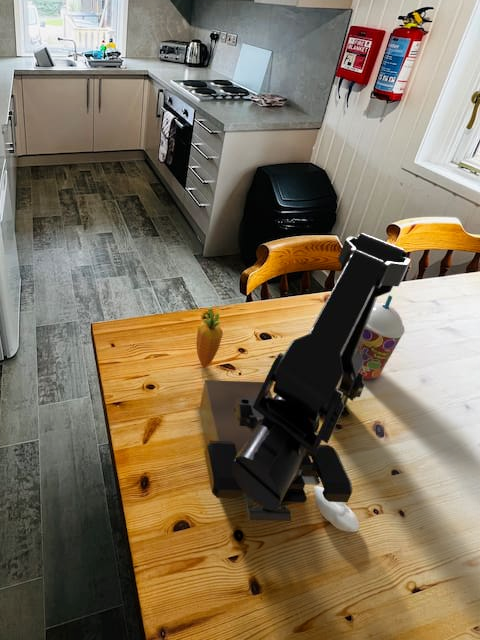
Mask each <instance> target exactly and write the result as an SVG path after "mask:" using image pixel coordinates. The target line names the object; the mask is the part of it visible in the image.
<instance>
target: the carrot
mask: <svg viewBox="0 0 480 640" xmlns="http://www.w3.org/2000/svg"><path fill="white" fill-rule="evenodd" d="M207 310H208V314H205V315H204V316H205V319H203V320H202V321H201V323H200V324H199V326H198V328H197V332H196V334H197V335H196V342H195V343H196V355H197V357H198V360H199V363H200V365H201V366H202V367H203V368H205V367H208V366H209V365H210V364H211V363H212V362H213V360H214V358H215V357H216V354H217V353H218V350H219V349H220V345H221V341H222V339H223V332H224V331H223V330H222V328H221V326H220V321H219V318H220V314H219V313H218V312H215V313H214V311H213V308H212V307H211V306H210V307H207ZM214 314H215V315H214Z"/></svg>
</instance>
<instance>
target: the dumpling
mask: <svg viewBox="0 0 480 640" xmlns="http://www.w3.org/2000/svg"><path fill="white" fill-rule="evenodd" d="M313 489H314V490H313V491H314V492H313V494H314V499H315V503H316V506H317V508H318V511H319V512H320V514H321V515H322V516H323V518H325V519H326V520H327V521H328V522H329V523H330V524H332V526H333V527H335V528H336V529H338V530H340V531H342V532H343V531H344V532H351V533H353V532H357V533H356V535H357V536H358V535H359V533H360V531H359V530H360V523H359V520H358V518H357V515H356V514H355V513H354V512H353V510H352V509H351V508H350V507H349V506H347V503H345V502H328V501H327V500H326V499H325V498H324V496H323V494H322V493H323V490H324V488H323V486H320V485H314V488H313Z"/></svg>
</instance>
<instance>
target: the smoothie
mask: <svg viewBox="0 0 480 640" xmlns="http://www.w3.org/2000/svg"><path fill="white" fill-rule="evenodd" d="M392 299H393V296H392V295H390V294H389V295H388V296H387V298H386V301H385V302H380V301H376V302H375V305H374V307H373V310H372V313H371V315H370V318H369V320H368V323H367V326H366V328H365V331H364V333H363V336H362V339H361V341H360V344H359V347H358V350H359V352H360V354H361V356H362V358H363V361H364V363H363V366H362V368H361V371H360V373H361V374H363V375H364V377H363V379H364V380H365V379H366V380H374V379H375V378H377V377H379V376H381V373H382V372H383V370H384V368H385V366H386V364H387V363H388V361H389V360H390V358H391V357H392V354H393V353H394V351H395V349H396V347H397V345H398V344H399V342H400V340H401V338H402V336H403V335H404V334H405V332H406V330H405V329H406V328H405V326H404V324H403V319H402V317H401V315H400V313H398V311H397V310H396V309H395V308H394V307H392V305H391V302H392Z"/></svg>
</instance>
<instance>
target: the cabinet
mask: <svg viewBox="0 0 480 640" xmlns="http://www.w3.org/2000/svg"><path fill="white" fill-rule="evenodd" d="M264 382H265V381H245V380H244V381H241V380H216V379H212V380H211V379H205V380H204V383H203V384H204V385H203V389H202V393H201V399H200V404H199V408H198V409H199V417H200V421H201V425H202V431H203V436H204V441H205V446H206V445H207V443H208V442H209V441H232V442H233V443H234V444H235V447H236V451H237V453H239V452H240V450H241V449H242V447H243V446H244V444H245V443H246V441H247V440H248V438H249V437H250V435H251V434H252V433H251V430H250V428H247V427H246V426H239V425H238V423H237V420H236V418H235V415H234V406H235V402H236V399H237V398H240V399H248V398H257V397H258V394H259V392H260V390H261V388H262V386H263V384H264ZM266 397H267V398H268V397H270V398H271V399H273V398H274V396H273V394H272V391H271V389H270V390H269V392H268V394H267V396H266Z"/></svg>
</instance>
